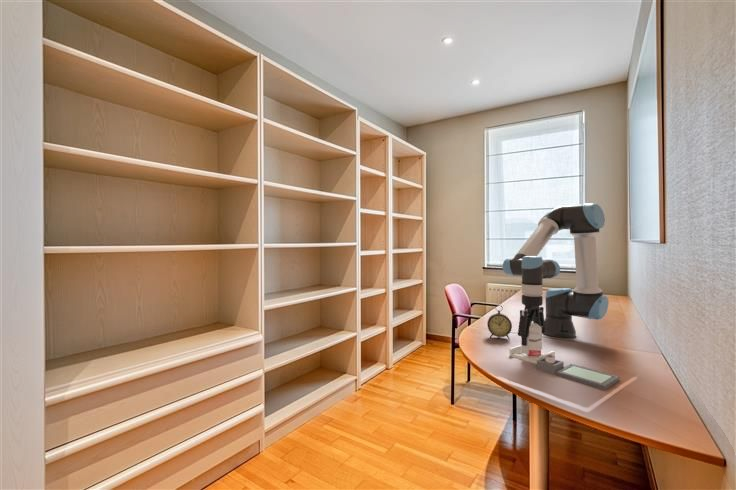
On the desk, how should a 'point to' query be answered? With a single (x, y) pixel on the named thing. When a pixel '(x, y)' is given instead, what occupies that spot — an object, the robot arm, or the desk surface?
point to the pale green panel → (587, 374)
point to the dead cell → (550, 359)
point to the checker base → (586, 381)
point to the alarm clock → (499, 324)
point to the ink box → (534, 340)
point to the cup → (549, 365)
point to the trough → (517, 354)
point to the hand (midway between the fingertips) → (531, 350)
